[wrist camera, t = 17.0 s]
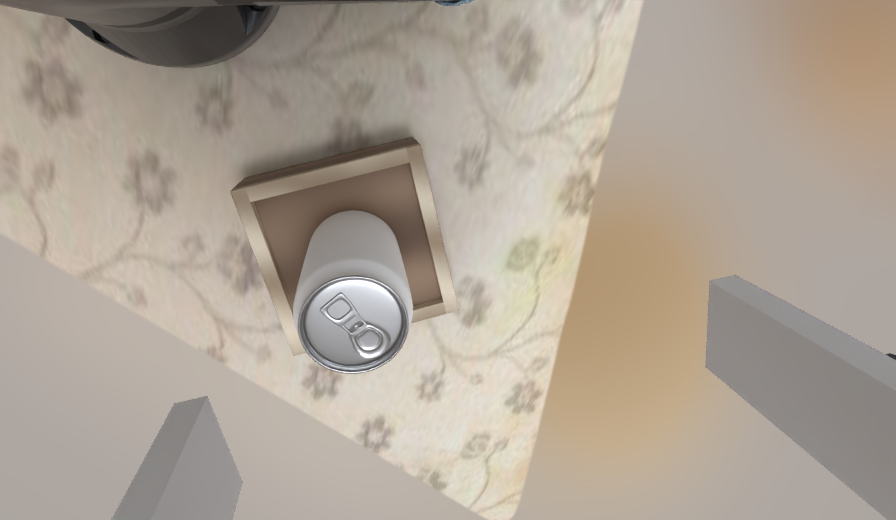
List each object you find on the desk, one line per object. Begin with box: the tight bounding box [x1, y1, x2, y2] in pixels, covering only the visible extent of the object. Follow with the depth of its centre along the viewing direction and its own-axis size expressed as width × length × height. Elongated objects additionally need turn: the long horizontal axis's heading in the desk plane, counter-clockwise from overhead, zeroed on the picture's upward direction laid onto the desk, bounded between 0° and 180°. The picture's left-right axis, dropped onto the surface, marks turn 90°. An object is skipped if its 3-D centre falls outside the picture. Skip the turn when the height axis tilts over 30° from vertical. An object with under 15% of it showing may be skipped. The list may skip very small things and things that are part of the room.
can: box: [293, 210, 413, 374], centre depth 31 cm, size 6×6×12 cm
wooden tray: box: [230, 137, 459, 356], centre depth 38 cm, size 13×13×5 cm
